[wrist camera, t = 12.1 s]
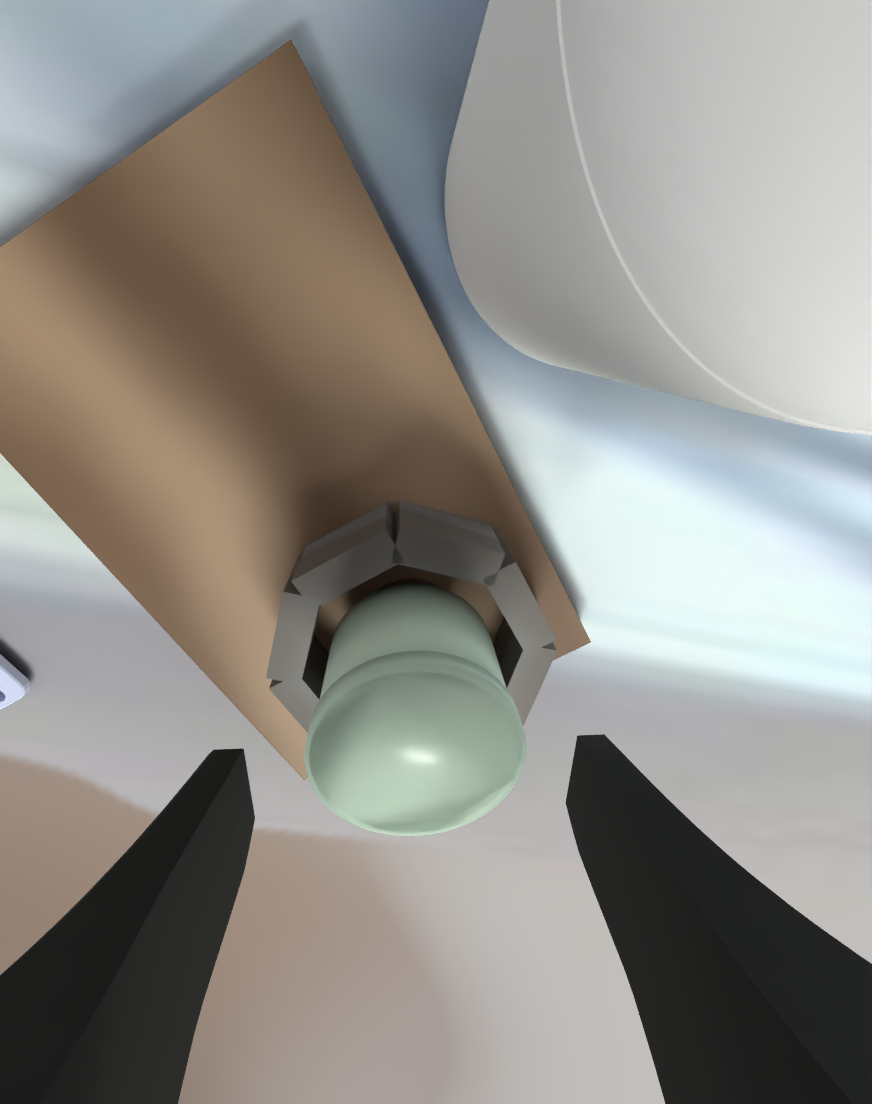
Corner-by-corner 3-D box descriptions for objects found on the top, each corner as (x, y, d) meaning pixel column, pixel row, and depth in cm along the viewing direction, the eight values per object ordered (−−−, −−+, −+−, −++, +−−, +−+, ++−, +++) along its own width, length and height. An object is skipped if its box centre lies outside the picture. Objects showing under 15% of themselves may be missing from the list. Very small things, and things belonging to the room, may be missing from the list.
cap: (528, 631, 15) (570, 728, 11) (434, 743, 17) (445, 860, 13) (384, 549, 14) (380, 628, 10) (296, 679, 15) (264, 789, 11)
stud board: (308, 756, 20) (292, 837, 17) (-74, 329, 14) (-224, 328, 10) (579, 624, 19) (618, 685, 16) (300, 66, 12) (264, -35, 9)
